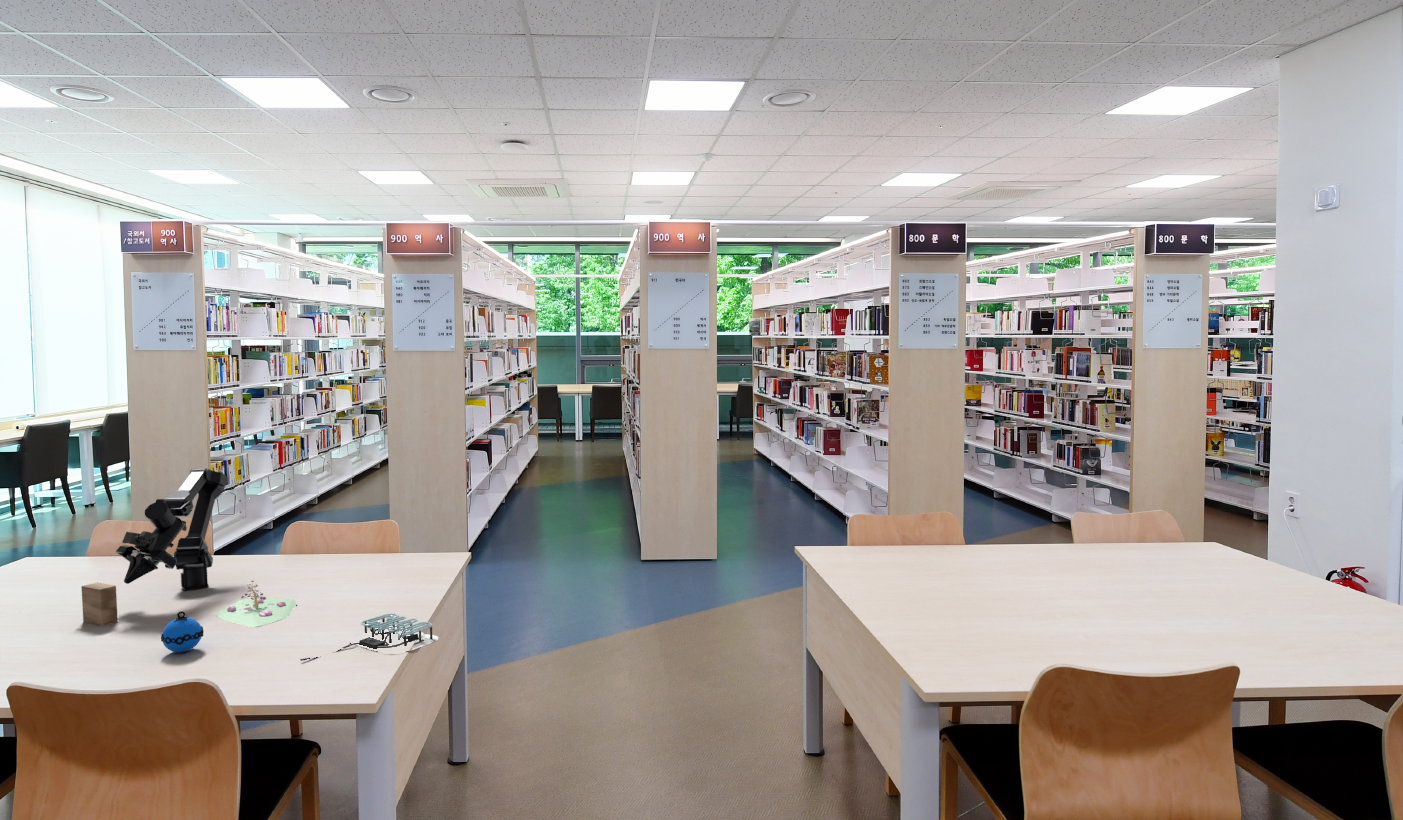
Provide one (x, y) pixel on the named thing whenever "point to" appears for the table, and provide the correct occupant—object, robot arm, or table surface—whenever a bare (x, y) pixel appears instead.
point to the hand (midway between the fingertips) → (125, 582)
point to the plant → (257, 610)
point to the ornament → (182, 634)
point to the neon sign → (384, 625)
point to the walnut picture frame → (99, 604)
